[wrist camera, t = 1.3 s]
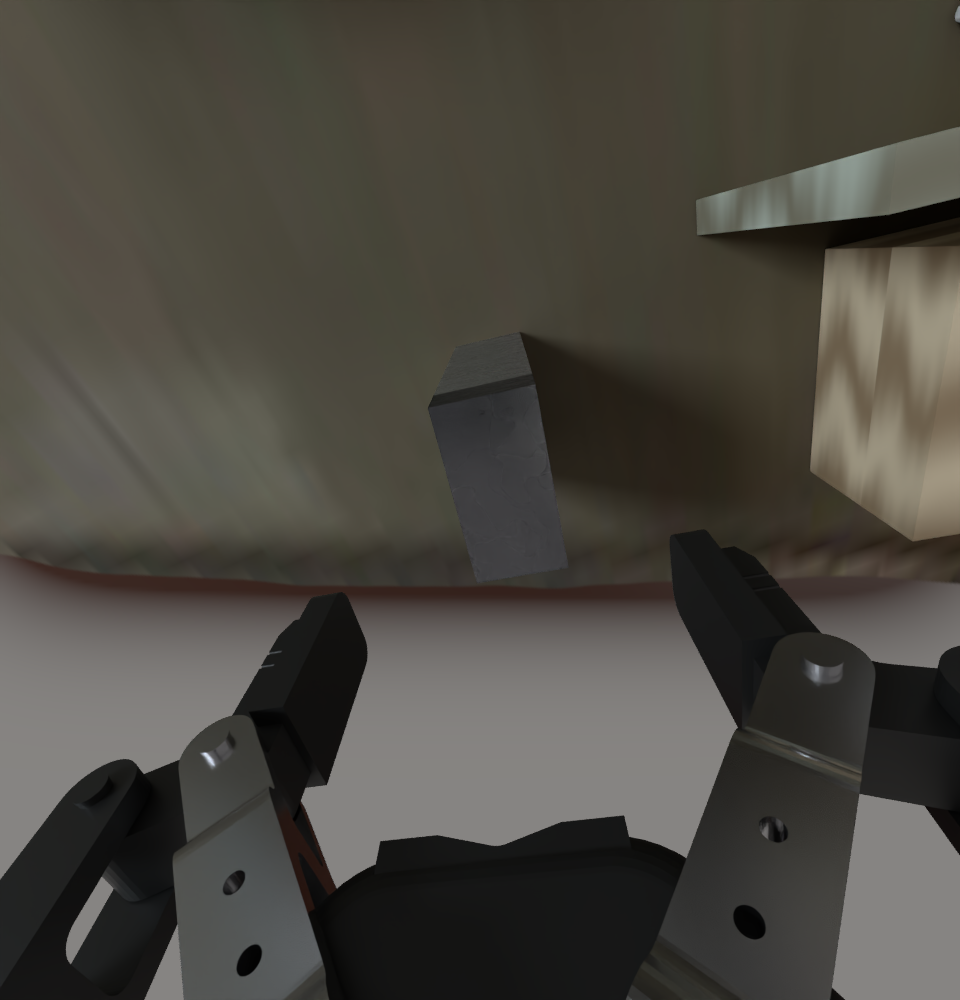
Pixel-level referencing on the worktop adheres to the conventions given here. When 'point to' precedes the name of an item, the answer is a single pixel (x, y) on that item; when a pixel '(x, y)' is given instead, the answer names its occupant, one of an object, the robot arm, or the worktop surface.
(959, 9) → the spoon rest
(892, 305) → the small shelf
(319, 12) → the worktop surface
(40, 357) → the worktop surface
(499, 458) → the brushed steel bar
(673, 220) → the worktop surface
